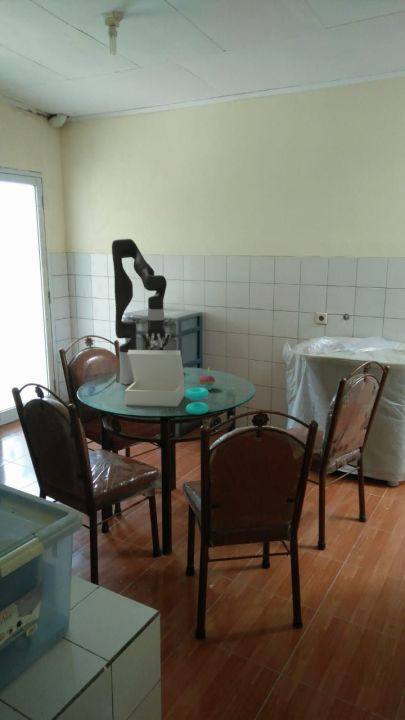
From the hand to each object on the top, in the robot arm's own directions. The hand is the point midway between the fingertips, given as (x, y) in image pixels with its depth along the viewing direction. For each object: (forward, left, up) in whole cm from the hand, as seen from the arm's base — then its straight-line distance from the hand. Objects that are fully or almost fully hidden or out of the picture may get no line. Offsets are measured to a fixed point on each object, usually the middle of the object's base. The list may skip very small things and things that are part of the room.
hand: (157, 355), depth 242 cm
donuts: (+21, +22, -21) cm, 37 cm away
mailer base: (+6, 0, -21) cm, 22 cm away
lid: (+4, 0, -6) cm, 7 cm away
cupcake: (-16, +21, -21) cm, 34 cm away
